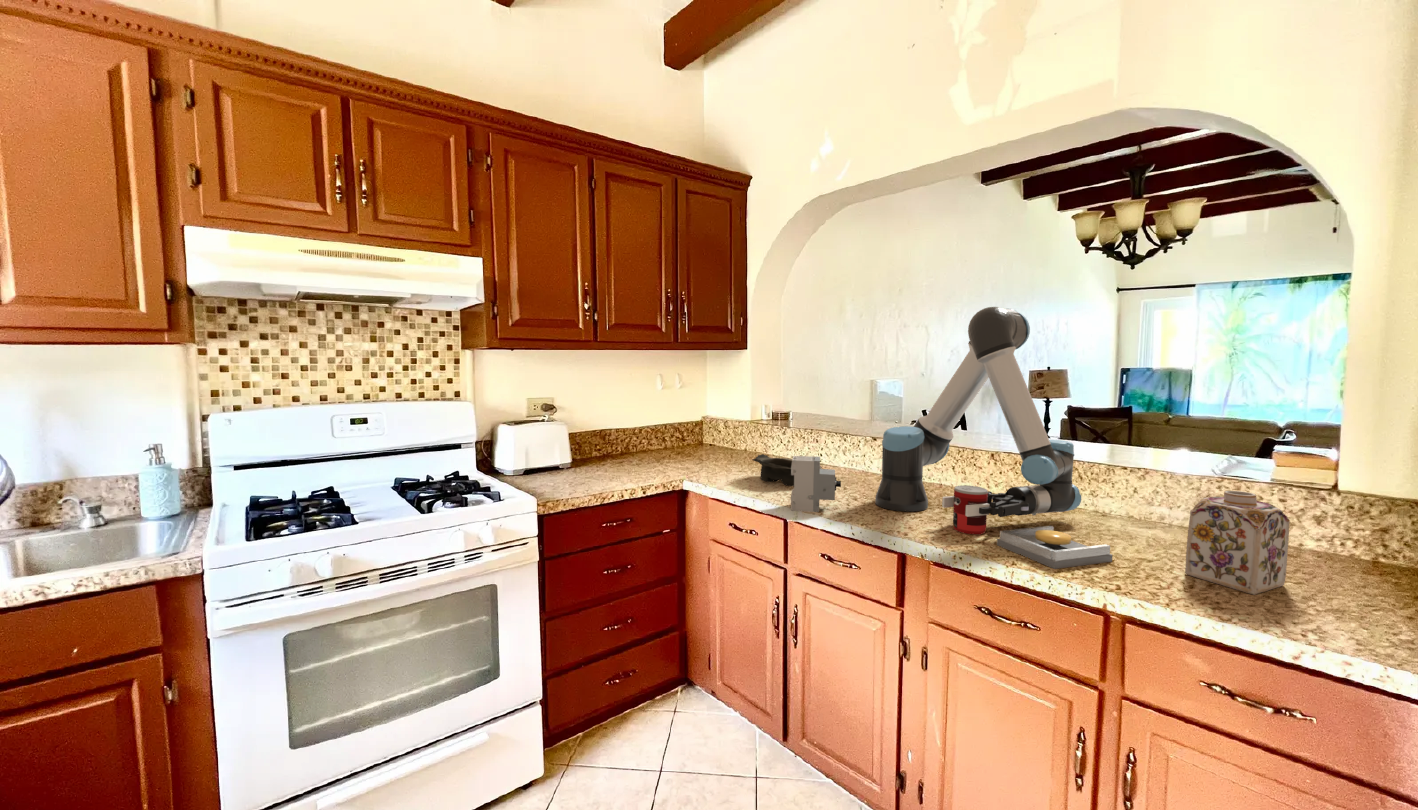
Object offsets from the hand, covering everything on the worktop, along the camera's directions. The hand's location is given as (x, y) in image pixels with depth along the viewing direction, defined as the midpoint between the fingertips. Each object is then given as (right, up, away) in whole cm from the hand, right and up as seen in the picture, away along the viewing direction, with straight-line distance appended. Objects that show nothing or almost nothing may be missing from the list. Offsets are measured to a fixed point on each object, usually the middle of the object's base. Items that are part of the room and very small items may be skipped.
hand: (954, 506), depth 145 cm
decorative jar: (+43, -9, -31) cm, 54 cm away
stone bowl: (-34, -2, +61) cm, 70 cm away
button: (+16, -6, -15) cm, 23 cm away
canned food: (+5, -7, +2) cm, 8 cm away
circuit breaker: (-31, -5, +23) cm, 39 cm away
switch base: (+16, -8, -15) cm, 23 cm away
